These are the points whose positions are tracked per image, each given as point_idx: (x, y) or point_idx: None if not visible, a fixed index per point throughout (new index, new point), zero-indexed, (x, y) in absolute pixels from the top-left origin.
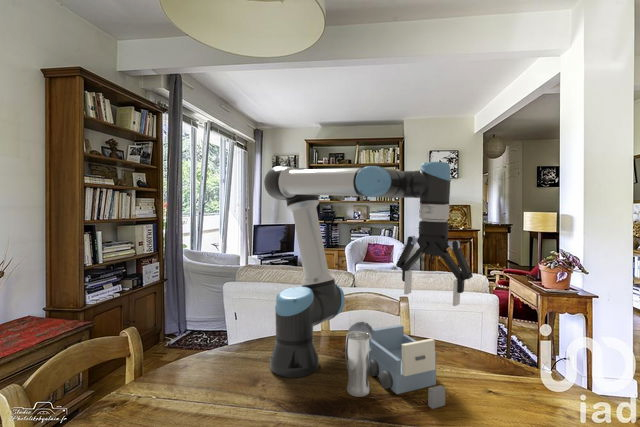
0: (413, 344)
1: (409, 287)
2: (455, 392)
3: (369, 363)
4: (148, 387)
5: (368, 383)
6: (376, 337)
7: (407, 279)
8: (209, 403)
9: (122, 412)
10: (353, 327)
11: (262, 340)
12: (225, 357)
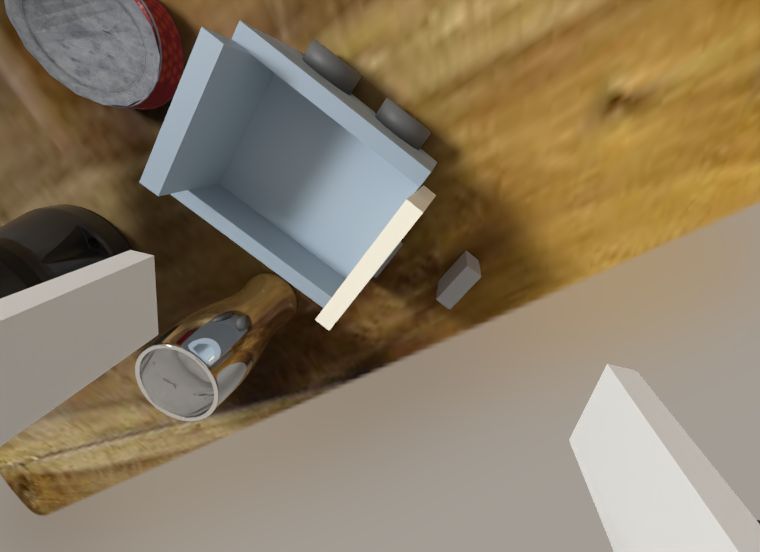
0: (354, 298)
1: (107, 317)
2: (500, 176)
3: (262, 343)
4: None
5: (282, 298)
6: (183, 183)
7: (14, 428)
8: (103, 442)
9: (49, 494)
10: (24, 21)
11: None
12: None
